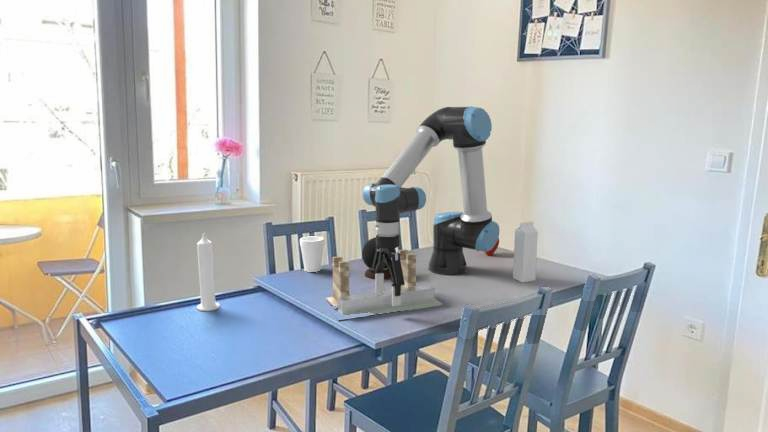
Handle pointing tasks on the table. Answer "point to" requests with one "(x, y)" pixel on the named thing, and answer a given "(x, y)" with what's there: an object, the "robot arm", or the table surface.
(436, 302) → the mat
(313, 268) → the foam cup
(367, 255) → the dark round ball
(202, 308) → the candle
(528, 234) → the milk
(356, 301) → the rail
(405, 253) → the cradle posts
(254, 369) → the table surface
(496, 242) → the apple
